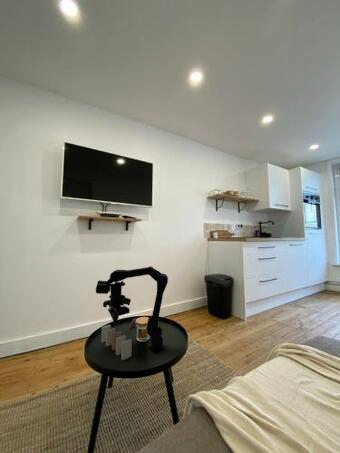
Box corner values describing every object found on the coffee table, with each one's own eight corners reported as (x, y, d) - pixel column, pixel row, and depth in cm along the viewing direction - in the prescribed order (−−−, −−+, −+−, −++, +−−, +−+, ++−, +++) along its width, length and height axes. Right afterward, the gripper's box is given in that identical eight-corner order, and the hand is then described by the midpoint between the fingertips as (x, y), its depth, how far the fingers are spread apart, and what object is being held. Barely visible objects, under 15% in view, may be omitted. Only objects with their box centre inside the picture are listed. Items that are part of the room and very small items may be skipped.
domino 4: (125, 351, 106) (125, 335, 107) (117, 355, 103) (117, 339, 103) (124, 350, 107) (124, 334, 108) (115, 354, 104) (116, 337, 104)
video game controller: (144, 331, 132) (146, 319, 136) (142, 330, 128) (144, 318, 132) (130, 329, 135) (133, 317, 138) (128, 328, 131) (130, 317, 134)
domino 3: (121, 346, 111) (121, 331, 111) (113, 350, 107) (113, 334, 108) (119, 345, 112) (120, 330, 112) (111, 349, 108) (112, 333, 109)
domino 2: (115, 343, 114) (115, 328, 115) (107, 346, 111) (107, 331, 111) (113, 342, 115) (114, 327, 116) (105, 345, 112) (106, 330, 112)
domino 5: (131, 356, 102) (131, 340, 103) (122, 360, 99) (123, 343, 99) (129, 354, 103) (130, 338, 104) (121, 358, 100) (121, 342, 100)
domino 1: (110, 339, 118) (110, 325, 119) (102, 342, 115) (102, 328, 115) (109, 338, 119) (109, 324, 120) (101, 341, 116) (101, 327, 116)
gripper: (138, 294, 109) (137, 324, 109) (120, 287, 123) (119, 314, 122) (119, 299, 102) (119, 331, 101) (102, 291, 115) (102, 319, 115)
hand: (115, 323), depth 110 cm, fingers closed
